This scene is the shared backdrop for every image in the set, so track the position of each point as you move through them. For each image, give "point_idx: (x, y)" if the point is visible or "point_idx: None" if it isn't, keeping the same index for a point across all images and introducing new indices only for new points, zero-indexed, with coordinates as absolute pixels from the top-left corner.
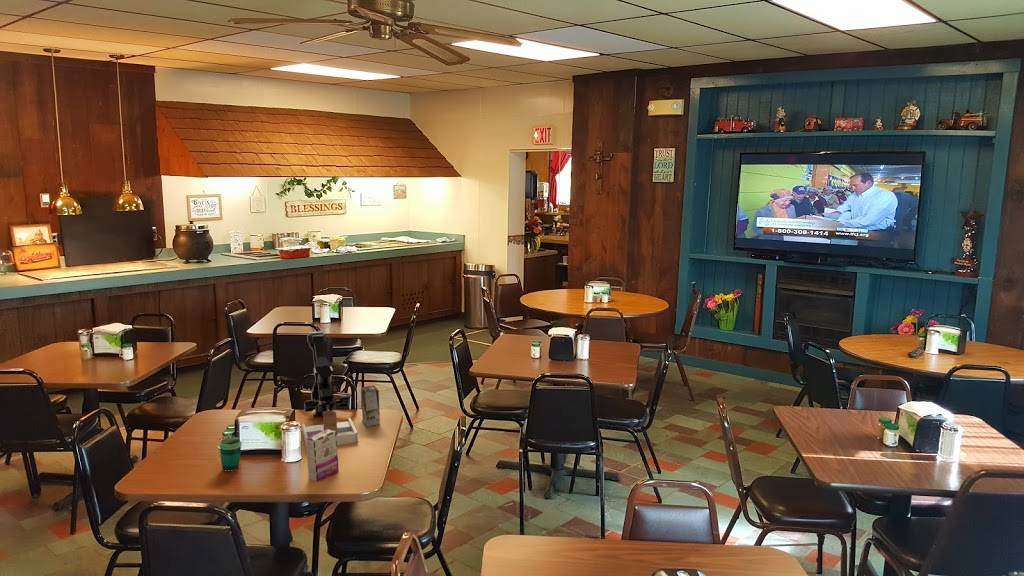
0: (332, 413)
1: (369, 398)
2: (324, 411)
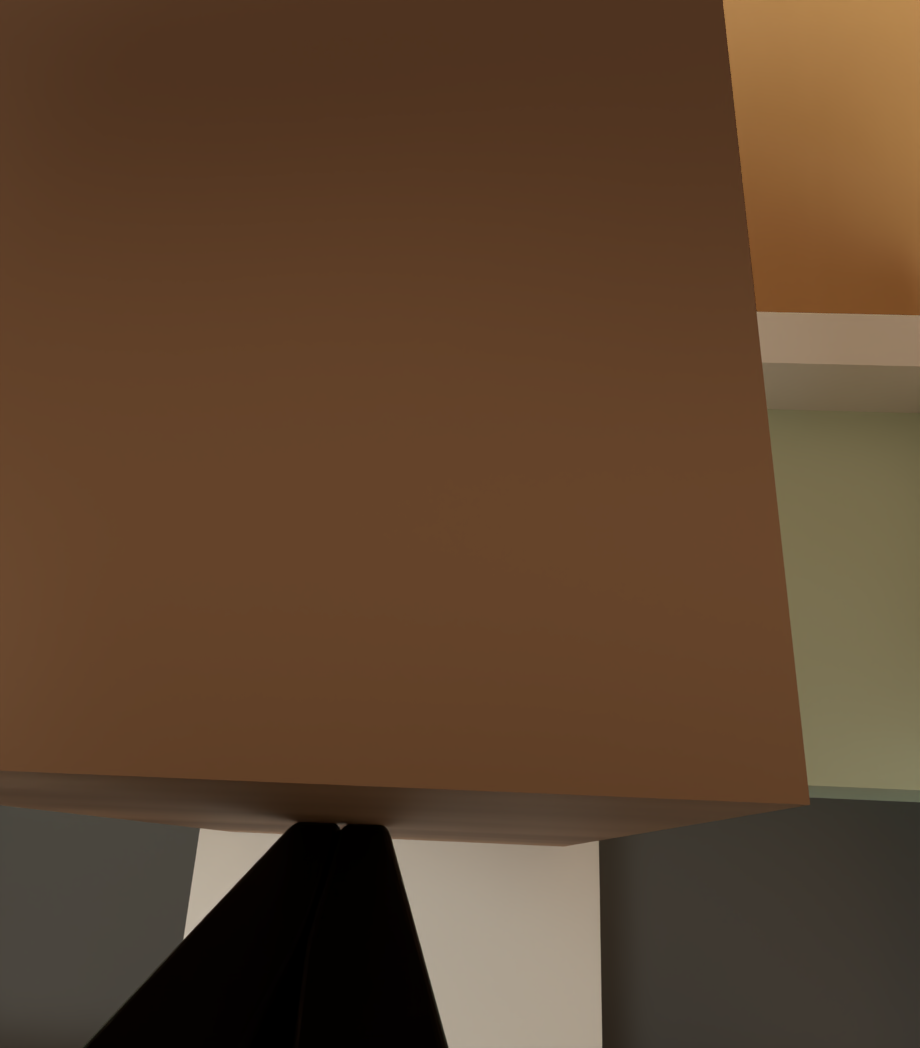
0: (92, 42)
1: None
2: (625, 770)
